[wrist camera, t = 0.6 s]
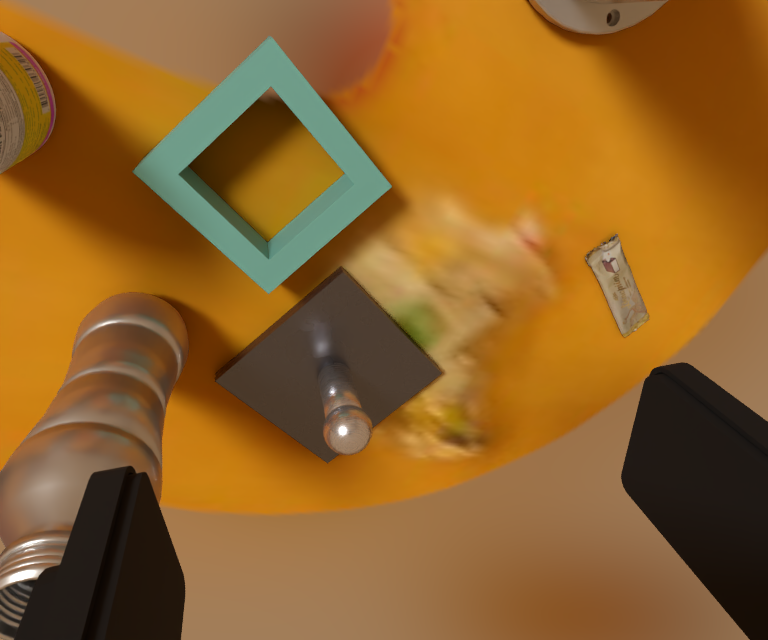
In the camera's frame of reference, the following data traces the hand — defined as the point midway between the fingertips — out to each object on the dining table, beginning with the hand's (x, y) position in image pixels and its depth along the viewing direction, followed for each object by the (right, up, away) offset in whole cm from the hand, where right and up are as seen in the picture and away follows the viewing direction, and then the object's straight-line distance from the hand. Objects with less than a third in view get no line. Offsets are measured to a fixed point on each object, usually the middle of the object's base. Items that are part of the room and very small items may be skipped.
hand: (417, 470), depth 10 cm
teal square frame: (-8, +12, +22) cm, 26 cm away
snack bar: (+18, +6, +33) cm, 38 cm away
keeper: (-5, -1, +30) cm, 31 cm away
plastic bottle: (-17, +2, +25) cm, 31 cm away
